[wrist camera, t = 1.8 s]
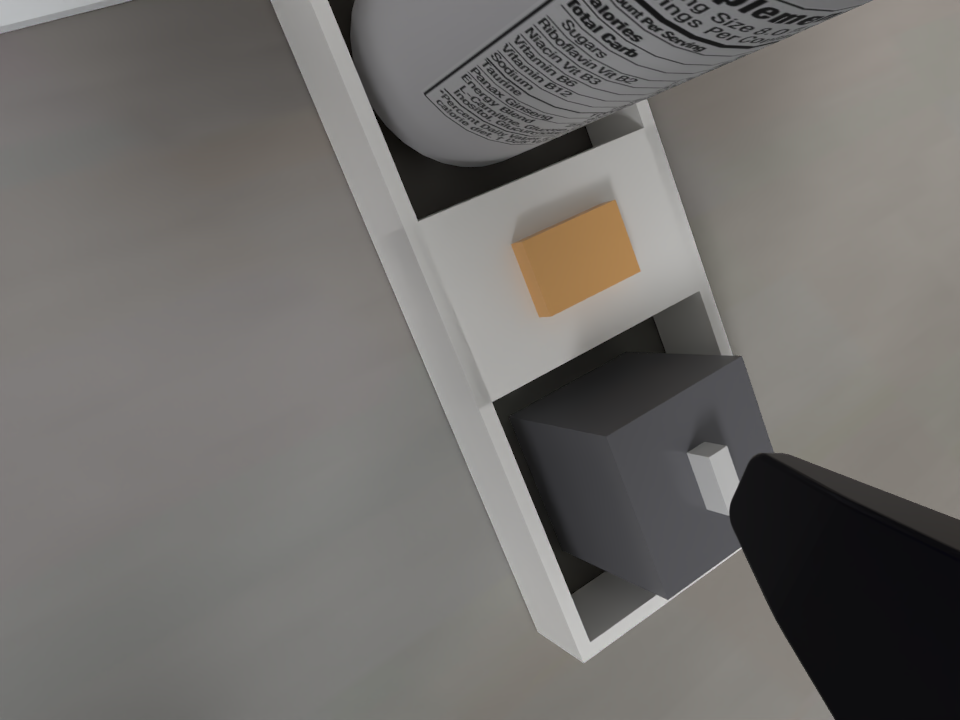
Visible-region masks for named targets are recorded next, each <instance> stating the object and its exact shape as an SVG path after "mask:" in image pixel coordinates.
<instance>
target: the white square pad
mask: <svg viewBox="0 0 960 720" xmlns="http://www.w3.org/2000/svg"><path fill="white" fill-rule="evenodd" d="M128 1H132V0H0V34H1V33H5V32H9V31H13V30H17V29H21V28H25V27H29V26H33V25H37V24H41V23H45V22H49V21H52V20H56V19H60V18H64V17H68V16H72V15H76V14H80V13H84V12H88V11H92V10H96V9H100V8H104V7H108V6H112V5H116V4H120V3H124V2H128Z"/></svg>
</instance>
